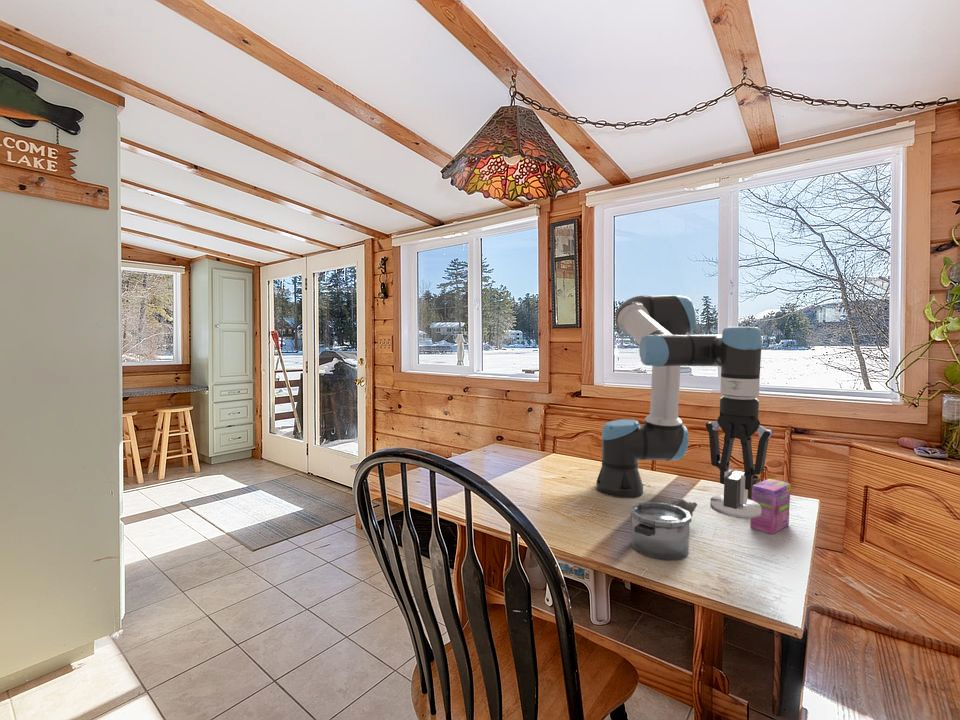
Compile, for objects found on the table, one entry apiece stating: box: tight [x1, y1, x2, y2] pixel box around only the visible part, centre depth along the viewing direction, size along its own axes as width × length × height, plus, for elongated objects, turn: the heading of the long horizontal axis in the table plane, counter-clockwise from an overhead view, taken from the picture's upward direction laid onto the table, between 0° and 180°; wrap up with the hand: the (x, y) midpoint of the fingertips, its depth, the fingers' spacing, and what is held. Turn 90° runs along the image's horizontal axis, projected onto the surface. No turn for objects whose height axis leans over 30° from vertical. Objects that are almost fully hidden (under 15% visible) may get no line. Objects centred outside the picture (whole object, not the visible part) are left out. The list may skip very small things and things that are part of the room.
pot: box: [630, 501, 693, 562], centre depth 115 cm, size 14×18×9 cm
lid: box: [710, 470, 761, 519], centre depth 106 cm, size 10×10×8 cm
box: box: [749, 478, 792, 535], centre depth 128 cm, size 10×6×12 cm, turn 126°
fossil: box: [666, 498, 698, 518], centre depth 129 cm, size 11×9×8 cm
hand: (735, 500), depth 106 cm, fingers closed on lid, 3 cm apart
